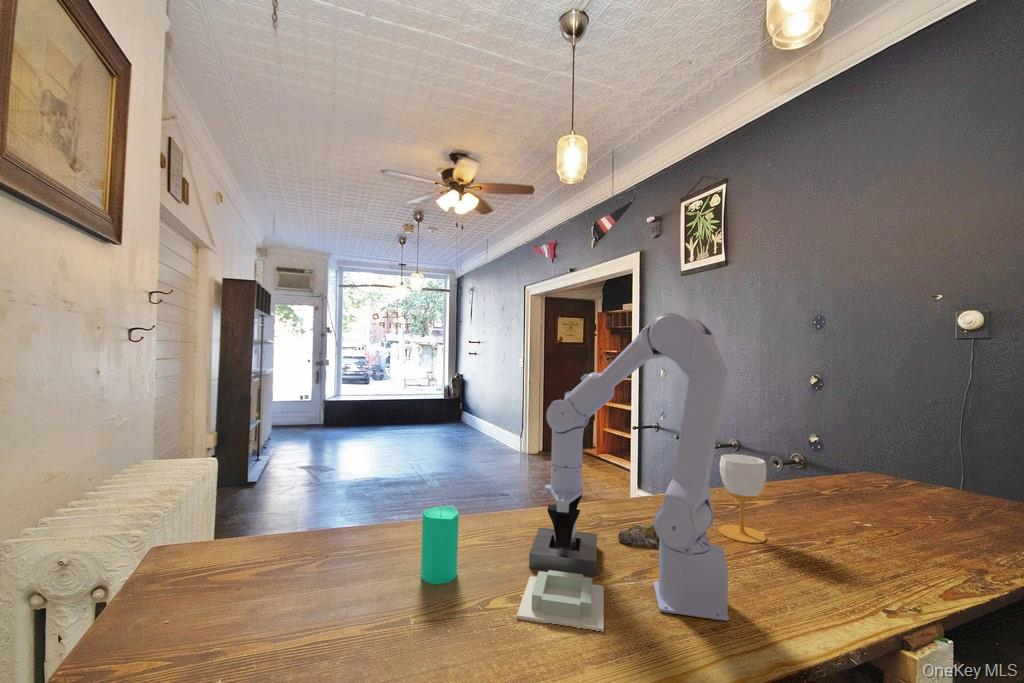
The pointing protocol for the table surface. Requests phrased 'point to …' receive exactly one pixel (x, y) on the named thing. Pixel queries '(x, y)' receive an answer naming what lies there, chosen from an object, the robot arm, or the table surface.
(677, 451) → the robot arm
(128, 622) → the table surface
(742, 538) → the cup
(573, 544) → the smooth metal cylinder
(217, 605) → the table surface
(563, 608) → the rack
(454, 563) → the candle
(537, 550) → the socket block
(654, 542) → the mineral rock
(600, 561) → the table surface
